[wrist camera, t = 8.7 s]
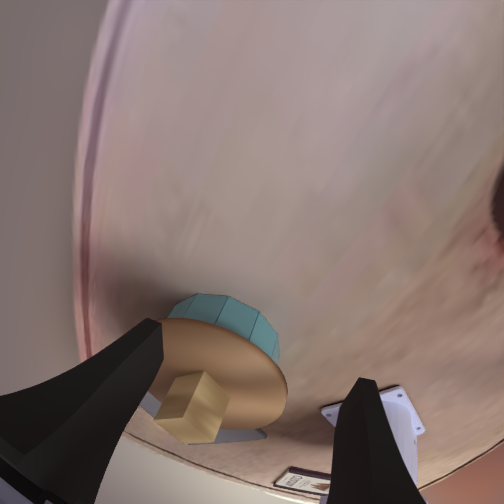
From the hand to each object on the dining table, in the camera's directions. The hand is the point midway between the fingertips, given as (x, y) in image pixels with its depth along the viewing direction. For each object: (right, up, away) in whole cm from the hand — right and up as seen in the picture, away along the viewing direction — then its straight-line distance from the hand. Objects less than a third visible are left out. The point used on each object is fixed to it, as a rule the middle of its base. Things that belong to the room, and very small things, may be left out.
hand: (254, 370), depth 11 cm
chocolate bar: (+13, -30, +27) cm, 42 cm away
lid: (-3, -5, +12) cm, 13 cm away
